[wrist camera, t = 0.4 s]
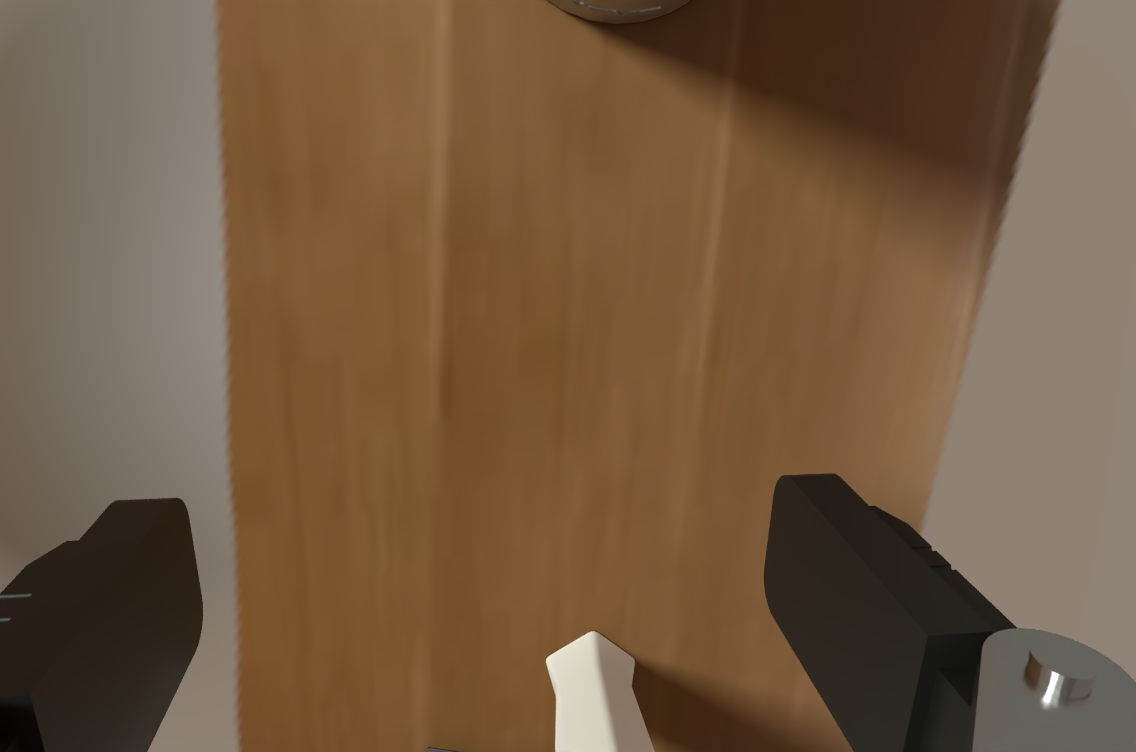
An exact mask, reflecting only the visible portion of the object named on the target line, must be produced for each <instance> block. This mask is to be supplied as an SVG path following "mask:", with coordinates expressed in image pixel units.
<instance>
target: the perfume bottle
mask: <svg viewBox="0 0 1136 752" xmlns="http://www.w3.org/2000/svg"><path fill="white" fill-rule="evenodd" d="M546 664H547V668H548V671H549V674H550V678H551V681H552V685H553V688H554V691H555V695H556V740H555V752H655V751H654V749H653V746H652V743H651V740H650V737H649V734H648V732H647V729H646V726H645V723H644V720H643V717H642V715H641V712H640V709H639V706H638V703H637V700H636V698H635V695H634V692H633V689H632V680H633V674H634V667H635V660H634V658H633V657H631V656H630V655H629V654H627V653H626V652H624V651H623V650H622V649H620V648H619V647H617V646H616V645H615V644H613V643H612V642H610V641H609V640H608V639H606V638H605V637H603V636H602V635H601V634H599V633H598V632H596V631H591V632H589V633H587V634H585V635H584V636H582V637H580V638H578V639H577V640H575V641H573V642H572V643H570V644H568V645H567V646H565V647H563V648H562V649H560V650H558V651H556V652H555V653H553V654H551V655H550V656H549V657H547V659H546Z"/></svg>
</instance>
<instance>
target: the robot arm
mask: <svg viewBox="0 0 1136 752" xmlns="http://www.w3.org/2000/svg"><path fill="white" fill-rule="evenodd" d="M548 1H550V2H551V3H553V4H554V5H556V6H557V7H559V8H560V9H562V10H564V11H567V12H569V13H572V14H574V15H577V16H579V17H582V18H584V19H587V20H592V21H598V22H605V23H612V24H622V23H635V22H644V21H647V20H650V19H653V18H656V17H660V16H663V15H666V14H669V13H671V12H673V11H674V10H676V9H678V8H679V7H681V6H683V5H684V4H686V3H688V2H690V1H691V0H548ZM189 521H190V520H189V515H188V511H187V508H186V506H185V504H184V502H183V501H182V500H181V499H179V498H162V499H137V500H117V501H114V502H113V503H111V504H110V505H109V506H108V507H107V509H106V510H105V511H104V512H103V513H102V514H101V516H100V517H99V518H98V519H97V520H96V521H95V522H94V524H93V525H92V526H91V527H90V528H89V529H88V531H87V532H86V533H85V534H84V535H83V536H82V537H81V538H80V540H79V541H66V542H64V543H63V544H61V545H60V546H58V547H56V548H55V549H53V550H51V551H50V552H48V553H46V554H45V555H43V556H42V557H40V558H38V559H37V560H35V561H33V562H32V563H30V564H28V565H27V566H26V567H25V568H24V569H23V570H22V571H21V572H20V573H19V574H18V575H17V576H16V577H15V579H14V580H13V581H12V582H11V583H10V584H9V585H8V586H7V587H6V588H5V589H4V590H3V591H2V592H1V593H0V752H147V751H148V749H149V747H150V745H151V742H152V741H153V739H154V737H155V735H156V732H157V730H158V728H159V726H160V724H161V722H162V720H163V718H164V716H165V714H166V712H167V710H168V708H169V706H170V703H171V701H172V699H173V697H174V695H175V693H176V691H177V689H178V687H179V685H180V683H181V681H182V679H183V677H184V674H185V672H186V670H187V668H188V666H189V664H190V662H191V660H192V658H193V656H194V654H195V651H196V649H197V647H198V643H199V640H200V635H201V630H202V621H203V602H202V595H201V589H200V582H199V576H198V570H197V564H196V558H195V551H194V545H193V540H192V533H191V527H190V522H189ZM764 587H765V594H766V599H767V603H768V606H769V609H770V611H771V614H772V616H773V618H774V619H775V621H776V623H777V624H778V626H779V628H780V629H781V631H782V633H783V634H784V636H785V638H786V639H787V641H788V643H789V644H790V646H791V648H792V649H793V651H794V653H795V654H796V656H797V658H798V659H799V661H800V663H801V664H802V666H803V668H804V669H805V671H806V673H807V674H808V676H809V678H810V679H811V681H812V683H813V684H814V686H815V688H816V689H817V691H818V692H819V694H820V696H821V697H822V699H823V701H824V702H825V704H826V706H827V707H828V709H829V711H830V712H831V714H832V716H833V717H834V719H835V721H836V722H837V724H838V726H839V727H840V729H841V731H842V732H843V734H844V736H845V737H846V739H847V741H848V742H849V744H850V746H851V747H852V749H853V751H854V752H1136V683H1135V682H1134V680H1133V679H1132V678H1131V677H1130V676H1129V675H1128V674H1127V673H1126V672H1125V671H1124V670H1123V669H1122V668H1121V667H1120V666H1118V665H1117V664H1116V663H1114V662H1113V661H1111V660H1110V659H1109V658H1108V657H1106V656H1104V655H1103V654H1101V653H1099V652H1098V651H1096V650H1094V649H1092V648H1090V647H1088V646H1086V645H1084V644H1082V643H1079V642H1077V641H1075V640H1072V639H1069V638H1067V637H1064V636H1061V635H1058V634H1054V633H1050V632H1046V631H1041V630H1035V629H1022V628H1017V627H1016V626H1015V625H1013V623H1011V622H1010V621H1009V620H1008V619H1007V618H1006V617H1005V616H1004V615H1003V614H1002V613H1001V612H1000V611H999V610H998V609H996V607H995V606H994V605H992V603H990V602H989V601H988V600H987V599H986V598H985V597H984V596H983V595H982V594H981V593H980V592H979V591H978V590H977V589H976V588H975V587H974V586H972V585H971V584H970V583H969V582H968V581H967V580H966V579H965V578H964V577H963V576H962V575H961V574H960V573H959V572H958V571H957V570H952V569H951V564H949V563H948V562H947V561H946V560H945V559H944V558H943V557H942V556H941V555H940V554H939V553H938V552H937V551H932V549H931V545H930V544H928V543H927V542H926V541H925V540H924V539H923V538H922V537H921V536H920V535H919V534H918V533H917V532H916V531H915V530H914V529H913V528H912V527H911V526H910V525H909V524H907V523H905V522H903V521H901V520H900V519H898V518H896V517H894V516H892V515H890V514H889V513H887V512H885V511H883V510H881V509H879V508H877V507H876V506H869V505H868V504H867V503H866V502H865V501H864V500H863V499H862V498H861V497H860V496H859V495H858V494H857V493H856V492H855V491H854V490H853V489H852V488H851V487H850V486H849V485H848V484H847V483H846V482H845V481H844V480H843V479H842V478H841V477H839V476H838V475H836V474H832V473H831V474H805V475H784V476H781V477H780V478H779V480H778V481H777V484H776V486H775V490H774V496H773V504H772V512H771V520H770V528H769V536H768V544H767V551H766V559H765V567H764Z"/></svg>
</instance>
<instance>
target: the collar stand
mask: <svg viewBox="0 0 1136 752" xmlns="http://www.w3.org/2000/svg"><path fill="white" fill-rule="evenodd" d="M426 752H454V751H447V750H440V749H433V748H427V751H426Z"/></svg>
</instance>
